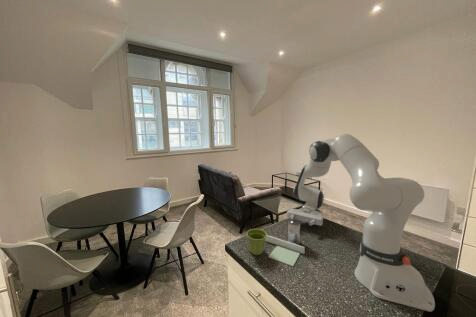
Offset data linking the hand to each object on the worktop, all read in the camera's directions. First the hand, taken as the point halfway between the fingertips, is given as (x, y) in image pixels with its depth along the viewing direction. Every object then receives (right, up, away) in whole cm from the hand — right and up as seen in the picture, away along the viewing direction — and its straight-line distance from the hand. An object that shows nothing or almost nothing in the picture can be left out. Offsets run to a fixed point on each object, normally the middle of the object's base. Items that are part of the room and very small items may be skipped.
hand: (300, 221), depth 107 cm
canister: (-7, -7, -9) cm, 13 cm away
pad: (-14, -9, -20) cm, 26 cm away
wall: (-13, -8, -13) cm, 20 cm away
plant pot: (-26, -9, -17) cm, 32 cm away
